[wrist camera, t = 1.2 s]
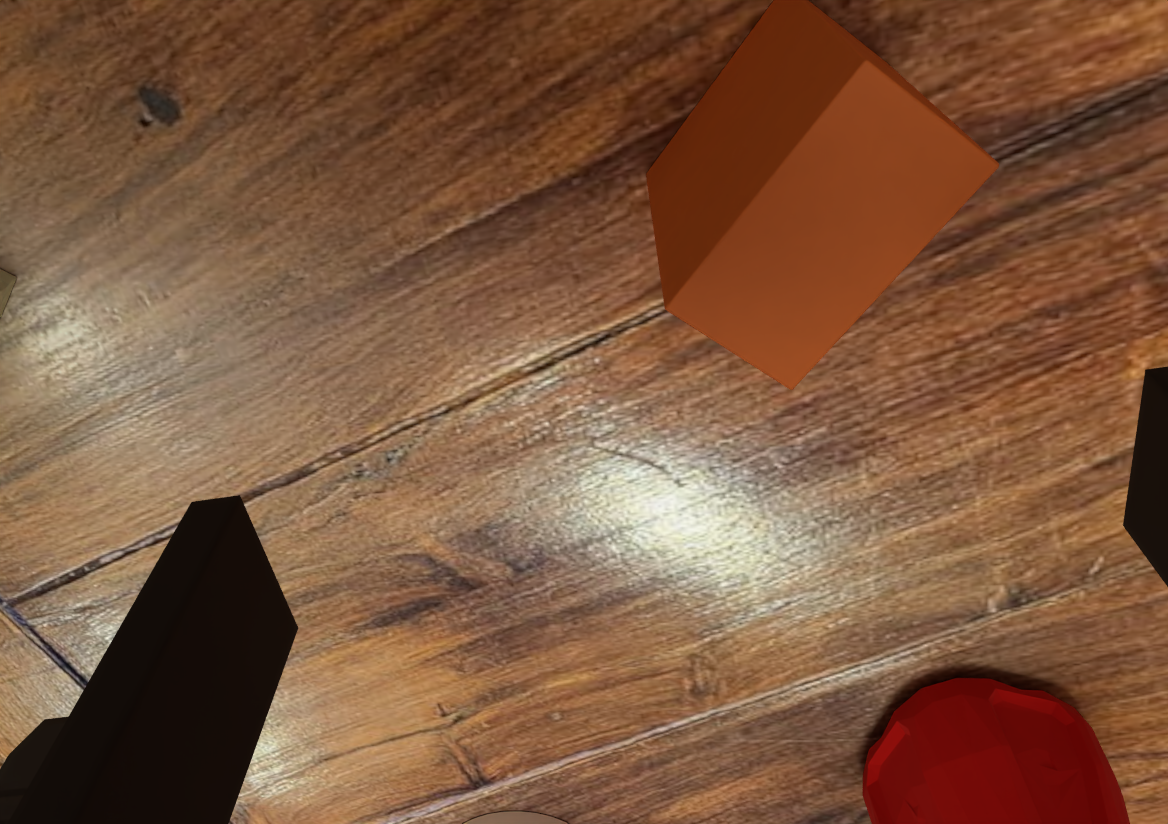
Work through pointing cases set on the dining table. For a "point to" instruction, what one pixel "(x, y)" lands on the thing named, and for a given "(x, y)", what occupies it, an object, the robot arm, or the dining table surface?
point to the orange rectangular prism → (801, 191)
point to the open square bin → (5, 288)
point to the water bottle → (989, 760)
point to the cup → (515, 818)
